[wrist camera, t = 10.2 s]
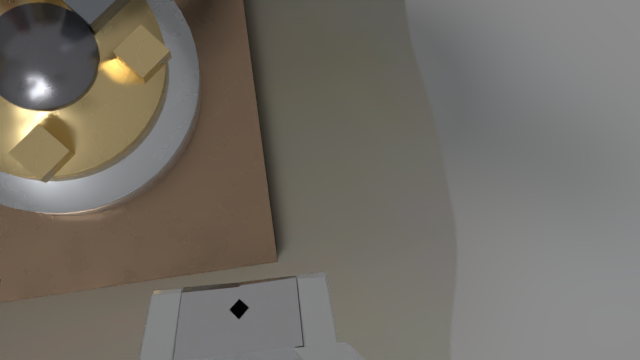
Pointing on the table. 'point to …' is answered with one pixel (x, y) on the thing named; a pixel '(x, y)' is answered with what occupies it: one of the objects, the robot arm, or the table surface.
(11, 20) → the grey and yellow model
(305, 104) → the table surface
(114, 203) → the housing
